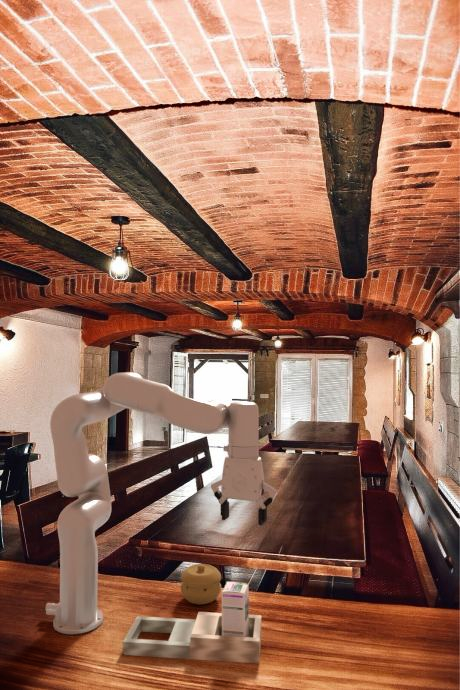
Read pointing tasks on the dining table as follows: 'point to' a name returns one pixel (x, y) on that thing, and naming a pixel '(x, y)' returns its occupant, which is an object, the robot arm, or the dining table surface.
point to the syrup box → (235, 609)
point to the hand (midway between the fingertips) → (243, 521)
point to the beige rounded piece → (201, 583)
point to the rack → (194, 639)
